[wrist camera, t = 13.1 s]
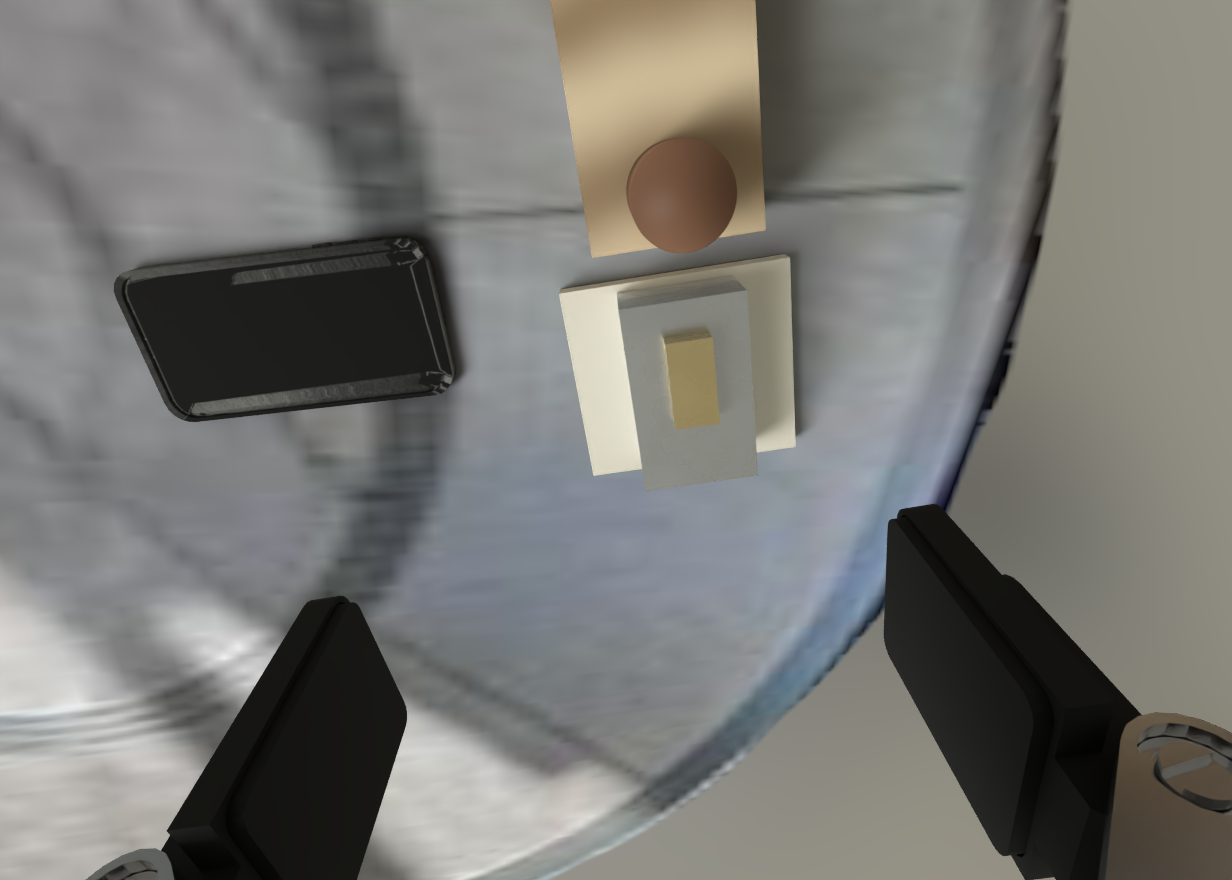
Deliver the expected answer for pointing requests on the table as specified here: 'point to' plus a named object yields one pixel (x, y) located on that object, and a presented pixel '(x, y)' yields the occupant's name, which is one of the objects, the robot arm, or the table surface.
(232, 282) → the phone
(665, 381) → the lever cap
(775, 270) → the felt mat
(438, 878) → the table surface
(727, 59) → the body
